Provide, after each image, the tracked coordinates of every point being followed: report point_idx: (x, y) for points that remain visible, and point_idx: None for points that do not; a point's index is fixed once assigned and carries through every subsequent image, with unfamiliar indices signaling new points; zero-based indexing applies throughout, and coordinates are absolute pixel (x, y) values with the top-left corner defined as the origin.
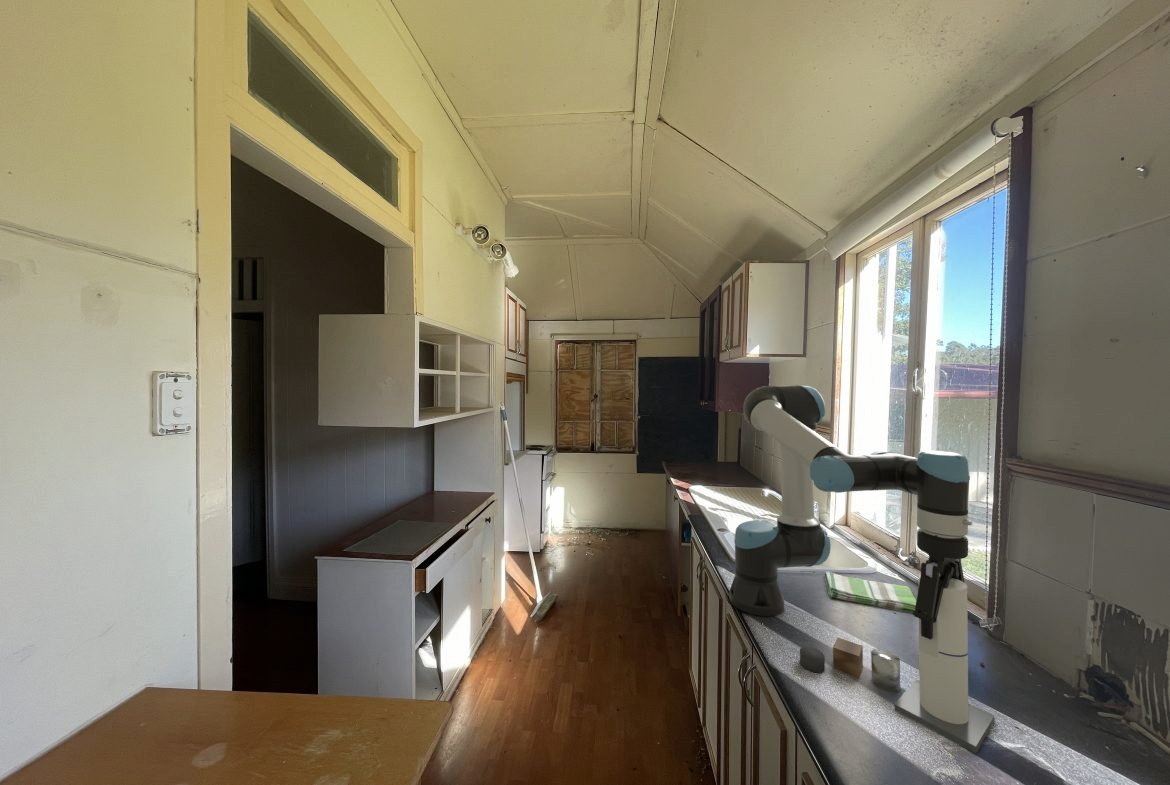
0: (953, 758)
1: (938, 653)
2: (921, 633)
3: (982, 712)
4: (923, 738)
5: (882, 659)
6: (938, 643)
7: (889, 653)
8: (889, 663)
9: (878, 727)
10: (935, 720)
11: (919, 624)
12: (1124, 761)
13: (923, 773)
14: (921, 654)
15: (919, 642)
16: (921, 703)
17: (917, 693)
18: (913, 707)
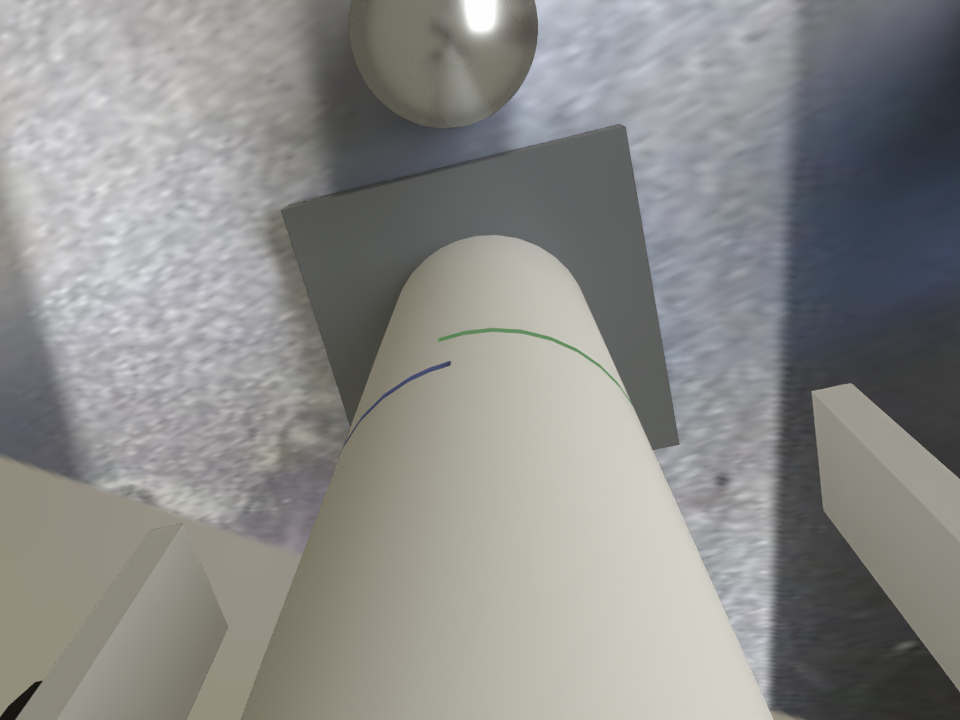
0: (263, 473)
1: (216, 646)
2: (11, 709)
3: (651, 413)
4: (247, 370)
5: (382, 49)
6: (187, 712)
7: (509, 18)
8: (386, 104)
9: (97, 251)
10: (370, 361)
11: (21, 716)
12: (862, 689)
13: (69, 471)
14: (369, 385)
15: (122, 576)
16: (409, 278)
17: (492, 206)
18: (355, 266)
